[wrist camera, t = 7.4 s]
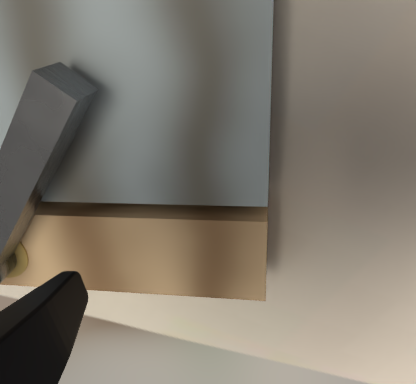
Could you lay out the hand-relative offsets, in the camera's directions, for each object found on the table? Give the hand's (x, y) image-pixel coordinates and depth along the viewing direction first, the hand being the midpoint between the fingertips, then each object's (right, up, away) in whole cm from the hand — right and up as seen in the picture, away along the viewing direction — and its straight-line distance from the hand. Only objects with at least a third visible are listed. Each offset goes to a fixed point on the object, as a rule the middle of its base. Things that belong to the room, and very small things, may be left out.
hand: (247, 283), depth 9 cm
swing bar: (-10, +2, +9) cm, 14 cm away
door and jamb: (-7, +5, +11) cm, 14 cm away
